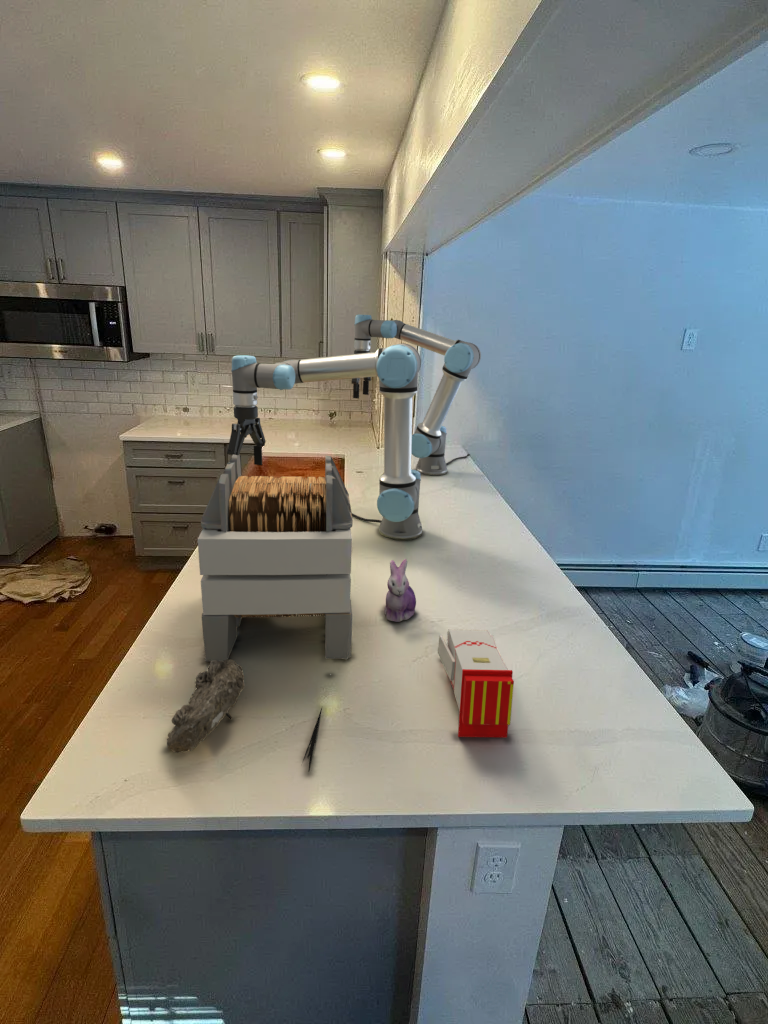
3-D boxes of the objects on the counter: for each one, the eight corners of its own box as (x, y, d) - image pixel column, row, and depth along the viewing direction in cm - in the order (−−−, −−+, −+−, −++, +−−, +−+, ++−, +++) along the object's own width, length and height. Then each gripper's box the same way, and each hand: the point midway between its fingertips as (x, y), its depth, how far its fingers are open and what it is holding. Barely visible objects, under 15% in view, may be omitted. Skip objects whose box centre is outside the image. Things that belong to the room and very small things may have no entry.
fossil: (192, 660, 117) (244, 628, 112) (224, 691, 120) (276, 661, 115) (142, 746, 98) (202, 712, 93) (182, 779, 101) (242, 748, 96)
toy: (488, 613, 130) (523, 677, 101) (484, 667, 133) (517, 744, 104) (435, 612, 130) (455, 676, 101) (432, 666, 133) (451, 743, 103)
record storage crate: (225, 590, 155) (217, 445, 141) (345, 589, 159) (348, 447, 145) (202, 664, 123) (188, 485, 110) (352, 660, 127) (356, 487, 113)
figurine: (392, 627, 141) (395, 572, 136) (374, 608, 149) (376, 556, 144) (425, 619, 145) (429, 566, 140) (405, 601, 154) (408, 550, 149)
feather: (331, 679, 122) (336, 673, 122) (307, 777, 96) (313, 769, 95) (324, 675, 122) (329, 669, 121) (298, 772, 95) (304, 764, 95)
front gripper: (235, 412, 169) (238, 480, 176) (274, 401, 192) (275, 462, 199) (213, 410, 171) (217, 477, 178) (254, 399, 194) (256, 459, 201)
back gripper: (360, 351, 249) (359, 400, 256) (378, 349, 272) (376, 393, 279) (344, 350, 251) (344, 399, 258) (363, 348, 274) (362, 392, 281)
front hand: (248, 469), depth 189 cm, fingers open, 13 cm apart
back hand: (360, 396), depth 268 cm, fingers open, 13 cm apart
